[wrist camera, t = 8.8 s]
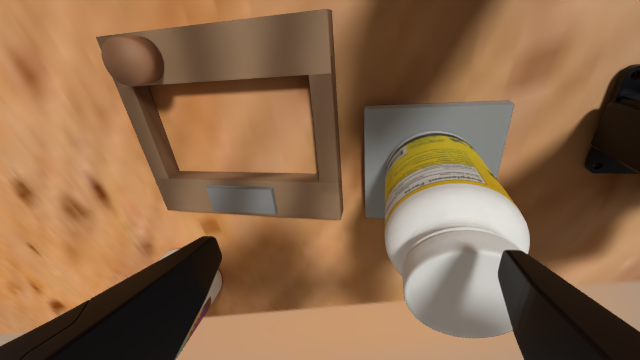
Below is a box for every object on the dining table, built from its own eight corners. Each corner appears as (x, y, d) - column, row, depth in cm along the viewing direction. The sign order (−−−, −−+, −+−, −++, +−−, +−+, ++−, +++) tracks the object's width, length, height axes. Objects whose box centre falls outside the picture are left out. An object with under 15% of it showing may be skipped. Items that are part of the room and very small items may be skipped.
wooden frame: (331, 10, 17) (320, 6, 14) (343, 209, 24) (337, 235, 21) (113, 36, 21) (67, 37, 18) (177, 201, 28) (152, 222, 25)
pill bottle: (474, 204, 20) (550, 360, 11) (387, 206, 22) (387, 342, 12) (482, 123, 17) (595, 236, 8) (383, 131, 19) (378, 234, 10)
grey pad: (508, 100, 17) (514, 104, 17) (481, 216, 22) (485, 224, 21) (365, 105, 19) (364, 109, 19) (366, 210, 24) (365, 217, 23)
